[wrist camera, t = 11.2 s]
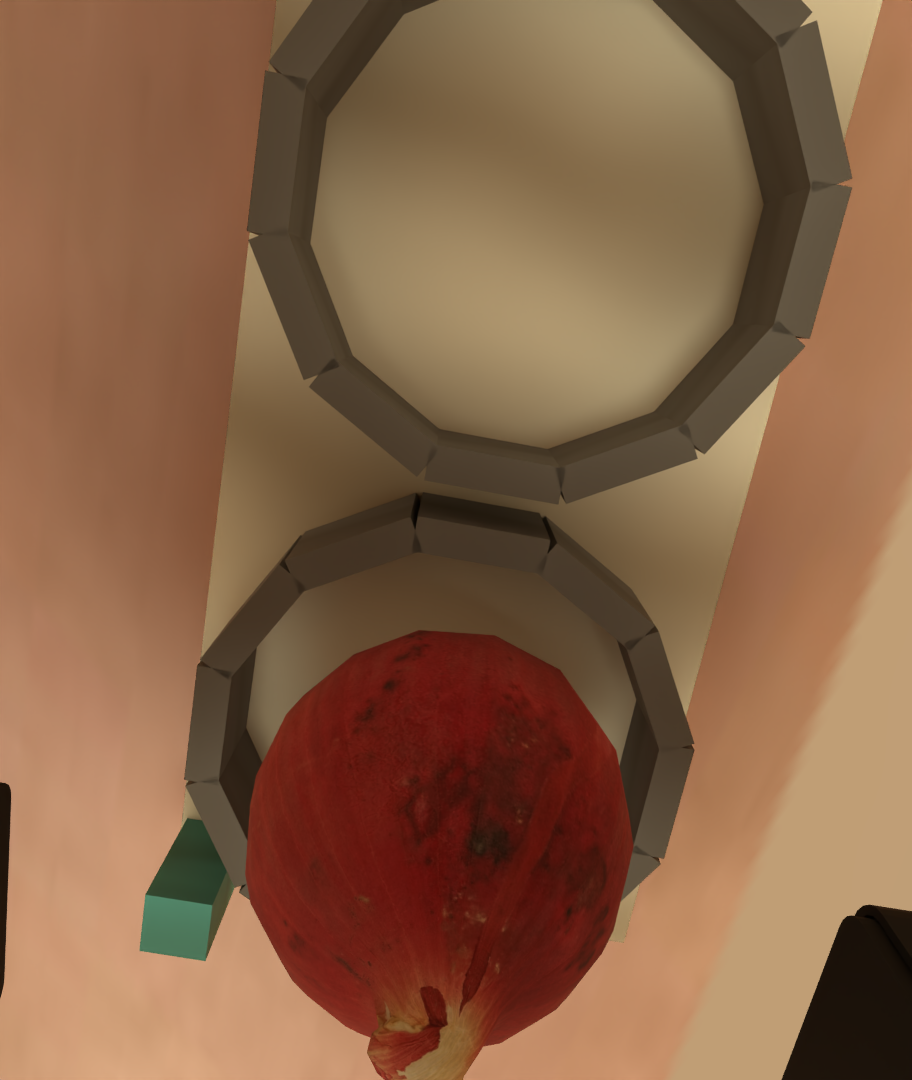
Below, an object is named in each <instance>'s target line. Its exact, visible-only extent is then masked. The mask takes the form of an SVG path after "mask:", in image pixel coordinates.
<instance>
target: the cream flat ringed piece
mask: <svg viewBox="0 0 912 1080" xmlns="http://www.w3.org/2000/svg"><path fill="white" fill-rule="evenodd" d="M882 1H883V0H276V8H275V17H274V26H273V35H272V43H271V52H270V60H269V69H268V71H265V78H264V86H263V95H262V104H261V113H260V121H259V130H258V139H257V148H256V156H255V165H254V174H253V183H252V191H251V200H250V209H249V218H248V226H247V231H249V232H250V234H249V243H248V252H247V260H246V269H245V278H244V286H243V295H242V304H241V313H240V321H239V330H238V339H237V347H236V356H235V365H234V373H233V382H232V391H231V399H230V408H229V417H228V425H227V434H226V443H225V451H224V460H223V469H222V478H221V486H220V495H219V504H218V512H217V521H216V530H215V538H214V547H213V556H212V564H211V573H210V582H209V590H208V599H207V608H206V617H205V625H204V634H203V643H202V651H201V659H200V663H199V664H198V665H197V673H196V681H195V690H194V699H193V708H192V716H191V725H190V734H189V743H188V751H187V760H186V769H185V778H184V780H187V782H186V790H185V799H184V808H183V816H182V825H181V830H180V832H179V834H178V836H177V838H176V840H175V841H174V843H173V845H172V847H171V849H170V851H169V852H168V854H167V856H166V858H165V860H164V862H163V863H162V865H161V867H160V869H159V871H158V873H157V874H156V876H155V878H154V880H153V882H152V884H151V885H150V887H149V889H148V891H147V893H146V895H145V904H144V913H143V923H142V932H141V942H140V951H144V952H151V953H157V954H164V955H170V956H177V957H183V958H189V959H196V960H202V961H206V958H207V956H208V953H209V950H210V948H211V945H212V943H213V940H214V938H215V935H216V933H217V930H218V928H219V925H220V923H221V920H222V918H223V915H224V913H225V910H226V908H227V905H228V903H229V900H230V897H231V895H232V892H233V890H234V887H238V886H241V885H242V886H241V889H240V891H239V893H241V894H242V895H243V896H245V897H246V898H248V899H249V900H250V897H249V892H248V887H247V882H246V876H245V868H246V855H247V841H248V827H249V814H250V804H251V799H252V794H253V789H254V784H255V779H256V775H257V773H258V771H259V769H260V766H261V764H262V762H263V760H264V758H265V756H266V754H267V752H268V750H269V748H270V746H271V744H272V742H273V740H274V738H275V736H276V734H277V732H278V730H279V728H280V726H281V724H282V722H283V720H284V718H285V715H286V714H287V713H288V712H289V711H290V709H291V708H292V707H293V706H294V705H295V704H296V703H297V702H298V701H299V700H300V699H301V698H302V696H303V695H305V694H306V693H307V692H308V691H309V690H311V689H312V688H313V687H314V686H316V685H317V684H318V683H319V682H320V681H322V680H323V679H324V678H325V677H327V676H328V675H329V674H330V673H331V672H333V671H334V670H335V669H336V668H338V667H339V666H340V665H341V664H342V663H344V662H345V661H346V660H347V659H349V658H350V657H351V656H352V655H353V654H356V653H359V652H361V651H364V650H367V649H369V648H372V647H375V646H377V645H380V644H383V643H385V642H388V641H391V640H394V639H396V638H399V637H402V636H404V635H407V634H410V633H412V632H415V631H418V630H427V631H441V632H456V633H470V634H485V635H495V636H497V637H499V638H501V639H503V640H505V641H507V642H509V643H510V644H512V645H514V646H516V647H518V648H520V649H522V650H524V651H526V652H527V653H529V654H531V655H533V656H535V657H537V658H539V659H541V660H543V661H545V662H546V663H548V664H550V665H552V666H554V667H556V668H558V669H560V670H561V672H562V673H563V675H564V676H565V677H566V679H567V680H568V682H569V683H570V684H571V686H572V687H573V689H574V690H575V691H576V693H577V694H578V696H579V697H580V699H581V700H582V701H583V703H584V704H585V706H586V707H587V708H588V710H589V711H590V713H591V714H592V715H593V717H594V718H595V720H596V721H597V722H598V724H599V725H600V727H601V728H602V730H603V731H604V733H605V734H606V736H607V737H608V739H609V740H610V742H611V743H612V745H613V746H614V748H615V749H616V752H617V757H618V762H619V767H620V772H621V777H622V782H623V787H624V792H625V798H626V803H627V808H628V813H629V819H630V826H631V832H632V839H633V845H634V847H633V851H632V856H631V860H630V865H629V869H628V873H627V878H626V882H625V886H624V890H623V894H622V898H621V902H620V906H619V910H618V915H617V919H616V923H615V927H614V931H613V933H612V935H611V937H610V939H609V941H615V942H621V943H624V940H625V937H626V933H627V929H628V926H629V922H630V919H631V915H632V911H633V908H634V904H635V900H636V897H637V893H638V889H639V886H640V883H641V882H642V881H643V880H644V879H645V878H646V877H647V876H648V875H649V874H651V873H652V872H653V871H654V870H655V869H656V868H657V867H658V866H659V865H660V861H659V859H658V858H664V856H665V853H666V849H667V846H668V842H669V839H670V835H671V831H672V828H673V824H674V821H675V817H676V814H677V810H678V806H679V803H680V799H681V796H682V792H683V789H684V785H685V782H686V778H687V774H688V771H689V767H690V764H691V760H692V757H693V753H694V749H693V747H692V745H691V744H694V741H693V738H692V735H691V732H690V729H689V725H688V722H687V719H686V715H687V711H688V707H689V704H690V700H691V696H692V693H693V689H694V686H695V682H696V678H697V675H698V671H699V667H700V664H701V660H702V656H703V653H704V649H705V645H706V642H707V638H708V635H709V631H710V627H711V624H712V620H713V616H714V613H715V609H716V605H717V602H718V598H719V595H720V591H721V587H722V584H723V580H724V576H725V573H726V569H727V565H728V562H729V558H730V554H731V551H732V547H733V544H734V540H735V536H736V533H737V529H738V525H739V522H740V518H741V514H742V511H743V507H744V504H745V500H746V496H747V493H748V489H749V485H750V482H751V478H752V474H753V471H754V467H755V463H756V460H757V456H758V453H759V449H760V445H761V442H762V438H763V434H764V431H765V427H766V423H767V420H768V416H769V412H770V409H771V405H772V402H773V398H774V394H775V391H776V387H777V383H778V380H779V376H780V373H781V372H782V371H783V370H784V369H785V368H786V367H787V365H788V364H789V363H790V362H791V361H792V360H793V359H794V358H795V357H796V356H797V355H798V354H799V353H800V351H801V350H802V349H803V348H804V347H805V345H803V344H802V343H801V342H800V341H799V340H798V339H797V338H807V339H810V336H811V332H812V329H813V325H814V322H815V318H816V314H817V311H818V307H819V304H820V300H821V297H822V293H823V289H824V286H825V282H826V279H827V275H828V272H829V268H830V264H831V261H832V257H833V254H834V250H835V247H836V243H837V240H838V236H839V232H840V229H841V225H842V222H843V218H844V215H845V211H846V207H847V204H848V200H849V197H850V193H851V190H852V188H851V187H846V186H841V185H836V184H839V183H841V182H844V181H847V180H849V179H852V175H851V170H850V166H849V161H848V157H847V152H846V148H845V143H844V139H845V136H846V132H847V129H848V125H849V121H850V118H851V114H852V110H853V107H854V103H855V99H856V96H857V92H858V88H859V85H860V81H861V78H862V74H863V70H864V67H865V63H866V59H867V56H868V52H869V48H870V45H871V41H872V38H873V34H874V30H875V27H876V23H877V19H878V16H879V12H880V8H881V5H882Z"/></svg>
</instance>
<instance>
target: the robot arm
mask: <svg viewBox="0 0 912 1080" xmlns="http://www.w3.org/2000/svg"><path fill="white" fill-rule="evenodd" d="M10 812H11V790H10V787H9V785H8V784H6V783H1V782H0V997H1V994H2V990H3V985H4V972H5V945H6V919H7V892H8V866H9V839H10ZM782 1080H912V911H906V910H899V909H893V908H887V907H881V906H874V905H865V906H862V907H861V908H860V909H859V910H857V912H856V914H855V916H847V917H846V918H845V919H844V920H843V921H842V923H841V925H840V927H839V929H838V932H837V935H836V938H835V940H834V943H833V945H832V948H831V951H830V953H829V956H828V958H827V961H826V964H825V966H824V969H823V972H822V974H821V977H820V980H819V982H818V985H817V988H816V990H815V993H814V995H813V998H812V1001H811V1003H810V1006H809V1009H808V1011H807V1014H806V1017H805V1019H804V1022H803V1025H802V1027H801V1030H800V1033H799V1035H798V1038H797V1040H796V1043H795V1046H794V1049H793V1051H792V1054H791V1056H790V1059H789V1062H788V1064H787V1067H786V1070H785V1072H784V1075H783V1078H782Z"/></svg>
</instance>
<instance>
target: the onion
mask: <svg viewBox="0 0 912 1080" xmlns="http://www.w3.org/2000/svg"><path fill="white" fill-rule="evenodd" d="M633 847H634V845H633V839H632V832H631V826H630V819H629V813H628V808H627V803H626V798H625V792H624V787H623V782H622V777H621V772H620V767H619V762H618V757H617V752H616V749H615V748H614V746H613V745H612V743H611V742H610V740H609V739H608V737H607V736H606V734H605V733H604V731H603V730H602V728H601V727H600V725H599V724H598V722H597V721H596V720H595V718H594V717H593V715H592V714H591V713H590V711H589V710H588V708H587V707H586V706H585V704H584V703H583V701H582V700H581V699H580V697H579V696H578V694H577V693H576V691H575V690H574V689H573V687H572V686H571V684H570V683H569V682H568V680H567V679H566V677H565V676H564V675H563V673H562V672H561V670H560V669H558V668H556V667H554V666H552V665H550V664H548V663H546V662H545V661H543V660H541V659H539V658H537V657H535V656H533V655H531V654H529V653H527V652H526V651H524V650H522V649H520V648H518V647H516V646H514V645H512V644H510V643H509V642H507V641H505V640H503V639H501V638H499V637H497V636H495V635H485V634H470V633H456V632H441V631H427V630H418V631H415V632H412V633H410V634H407V635H404V636H402V637H399V638H396V639H394V640H391V641H388V642H385V643H383V644H380V645H377V646H375V647H372V648H369V649H367V650H364V651H361V652H359V653H356V654H353V655H352V656H351V657H350V658H349V659H347V660H346V661H345V662H344V663H342V664H341V665H340V666H339V667H338V668H336V669H335V670H334V671H333V672H331V673H330V674H329V675H328V676H327V677H325V678H324V679H323V680H322V681H320V682H319V683H318V684H317V685H316V686H314V687H313V688H312V689H311V690H309V691H308V692H307V693H306V694H305V695H303V696H302V698H301V699H300V700H299V701H298V702H297V703H296V704H295V705H294V706H293V707H292V708H291V709H290V711H289V712H288V713H287V714H286V715H285V718H284V720H283V722H282V724H281V726H280V728H279V730H278V732H277V734H276V736H275V738H274V740H273V742H272V744H271V746H270V748H269V750H268V752H267V754H266V756H265V758H264V760H263V762H262V764H261V766H260V769H259V771H258V773H257V775H256V779H255V784H254V789H253V794H252V799H251V804H250V814H249V827H248V841H247V855H246V868H245V876H246V882H247V887H248V892H249V897H250V902H251V905H252V907H253V909H254V911H255V912H256V914H257V916H258V918H259V920H260V922H261V924H262V926H263V928H264V930H265V932H266V934H267V936H268V937H269V939H270V941H271V943H272V945H273V947H274V949H275V951H276V953H277V955H278V956H279V958H280V960H281V962H282V964H283V965H284V967H285V969H286V970H287V972H288V974H289V976H290V977H291V979H292V980H293V982H294V983H295V984H296V985H297V986H298V987H299V988H300V989H301V990H302V991H303V992H304V993H305V994H306V995H307V996H308V997H310V998H311V999H312V1000H313V1001H315V1002H316V1003H317V1004H318V1005H320V1006H321V1007H322V1008H323V1009H325V1010H326V1011H327V1012H328V1013H330V1014H331V1015H332V1016H333V1017H335V1018H336V1019H337V1020H338V1021H340V1022H341V1023H342V1024H343V1025H345V1026H346V1027H348V1028H350V1029H352V1030H354V1031H356V1032H358V1033H360V1034H363V1035H365V1036H368V1037H371V1039H370V1043H369V1046H368V1050H367V1054H368V1056H369V1058H370V1060H371V1062H372V1064H373V1065H374V1067H375V1069H376V1071H377V1073H378V1074H379V1075H380V1076H381V1077H382V1078H383V1079H385V1080H463V1077H464V1075H465V1074H466V1072H467V1071H468V1069H469V1067H470V1066H471V1064H472V1063H473V1061H474V1060H475V1058H476V1057H477V1055H478V1054H479V1052H480V1050H481V1049H482V1047H483V1046H488V1045H494V1044H499V1043H501V1042H503V1041H505V1040H506V1039H508V1038H510V1037H511V1036H513V1035H515V1034H517V1033H518V1032H520V1031H522V1030H523V1029H525V1028H527V1027H528V1026H530V1025H532V1024H533V1023H535V1022H537V1021H538V1020H540V1019H542V1018H543V1017H545V1016H546V1015H548V1014H550V1013H551V1012H553V1011H554V1010H556V1009H557V1008H558V1007H559V1006H560V1004H561V1003H562V1002H563V1001H564V1000H565V999H566V998H567V997H568V996H569V994H570V993H571V992H572V991H573V989H574V988H575V987H576V986H577V984H578V983H579V982H580V980H581V979H582V978H583V977H584V975H585V974H586V973H587V972H588V970H589V969H590V968H591V966H592V965H593V964H594V963H595V961H596V960H597V959H598V958H599V956H600V955H601V954H602V952H603V950H604V948H605V946H606V944H607V942H608V940H609V939H610V937H611V935H612V933H613V931H614V927H615V923H616V919H617V915H618V910H619V906H620V902H621V898H622V894H623V890H624V886H625V882H626V878H627V873H628V869H629V865H630V860H631V856H632V851H633Z"/></svg>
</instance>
